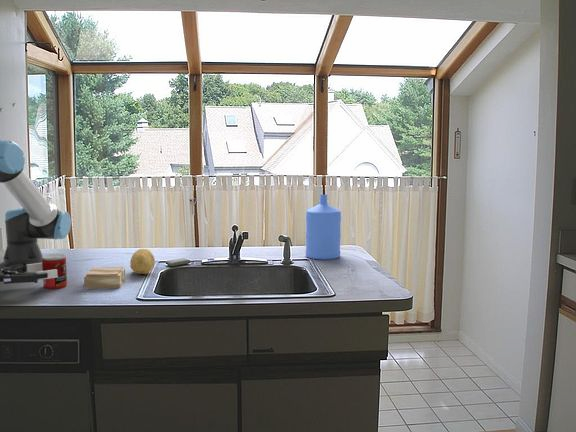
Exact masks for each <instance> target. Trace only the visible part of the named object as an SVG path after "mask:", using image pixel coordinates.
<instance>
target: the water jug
mask: <svg viewBox="0 0 576 432" xmlns="http://www.w3.org/2000/svg"><path fill="white" fill-rule="evenodd" d="M319 197H320V199H319V200H320V202H319V204H317V205H314V206H313V207H311V208H309V209H307V210H306V214H305V221H306V222H305V224H306V225H305V227H306V228H305V256H306V257H307V258H309V259H312V260H324V261H325V260H329V261H330V260H335V259H338V258H339V257H340V256H341V234H342V233H341V219H342V215H341V214H342V213H341V210H340V209H338V208H336V207H334V206H332V205H330V204H329V203H328V194H319Z"/></svg>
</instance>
